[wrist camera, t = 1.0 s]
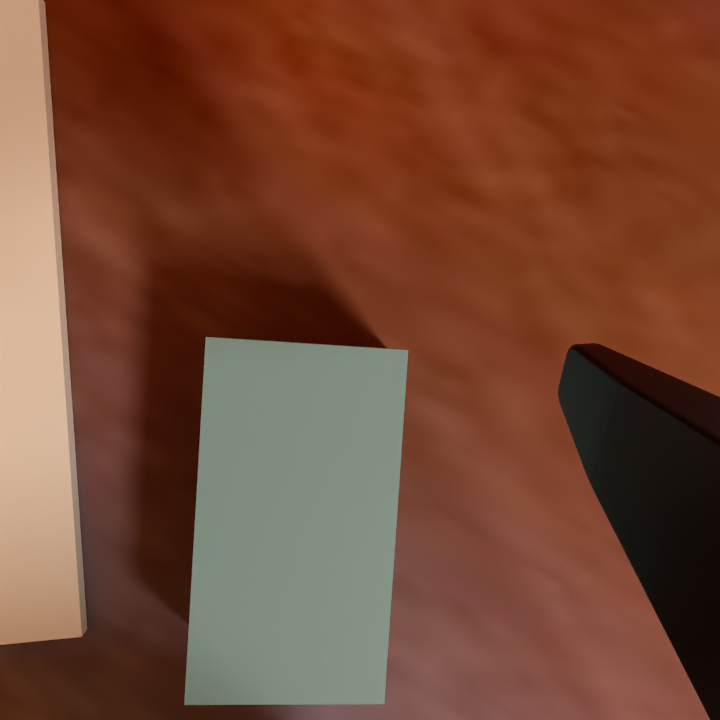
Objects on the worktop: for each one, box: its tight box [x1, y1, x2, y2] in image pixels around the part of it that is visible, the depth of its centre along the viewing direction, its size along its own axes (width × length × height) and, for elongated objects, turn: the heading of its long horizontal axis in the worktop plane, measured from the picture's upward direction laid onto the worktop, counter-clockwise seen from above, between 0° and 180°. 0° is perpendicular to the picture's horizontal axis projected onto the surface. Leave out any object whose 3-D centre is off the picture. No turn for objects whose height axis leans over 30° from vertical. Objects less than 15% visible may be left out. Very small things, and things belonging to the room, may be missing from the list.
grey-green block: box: [184, 337, 408, 705], centre depth 18 cm, size 10×6×4 cm, turn 176°
